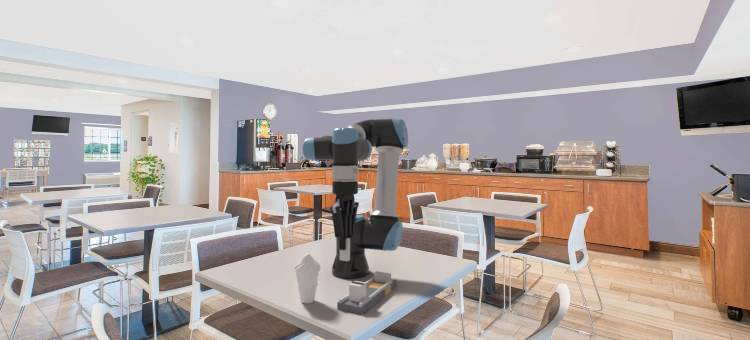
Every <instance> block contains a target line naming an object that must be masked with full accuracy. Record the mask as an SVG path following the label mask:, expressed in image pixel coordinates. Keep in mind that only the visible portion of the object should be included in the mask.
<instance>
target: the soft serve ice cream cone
mask: <svg viewBox="0 0 750 340" xmlns="http://www.w3.org/2000/svg"><path fill="white" fill-rule="evenodd" d="M294 270H295V271H294V272H295V274H296V275H295V276H296V283H297V284H296V286H297V289H298V292H299V293H298V295H299V299H300V302H301V304H311V303H314V302H315V299H316V292H317V289H318V288H317V287H318V285H319V284H318V280H319V279H318V278H319V275H320V274H319V272H320V271H321V264H320V262H318V260H316V259H315V258H314V257H313V256H312V255H311V254H310V253H307V252H306V253H305V254H304V255H303V257H301V258H300V259H299V260H298V262H296V263H295V266H294Z"/></svg>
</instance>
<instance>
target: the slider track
mask: <svg viewBox="0 0 750 340" xmlns="http://www.w3.org/2000/svg"><path fill="white" fill-rule="evenodd" d="M365 283H366V299H364V300H363V301H362V302H355V301H350V300H349V292H348V293H346V294H345V295H344V296H342V297H341V298H339V299H338V302H337V306H336V307H337V308H336V309H337V310H342V311H345V312H350V313H354V314H360V315H364V314H365V313H366V312H368V311H369V310H370V309H371V308H373V307H374V306H375V305H376V304H377V303H379V302H380V301H381V300H382V299H384V297H386V296H387V295H388V294H390V292H392V291H393V290H394V289H395V288H396V287H398V281H397V280H396V279H395V280H394V279H392V273H390V272H389V273H388V272H382V271H374V272H373V276H372V277H371V278H369V279H368V280H367V281H365Z"/></svg>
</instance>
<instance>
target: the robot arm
mask: <svg viewBox="0 0 750 340" xmlns="http://www.w3.org/2000/svg"><path fill="white" fill-rule="evenodd" d="M408 134H409V133H408V129H407V125H406V121H405V120H404V119H402V118H383V119H381V118H380V119H373V118H372V119H366V120H365V119H364V120H361V121H358V122H356V123H352V124H349V125H348V126H347V127H336V128H334V129H333V131H332V133H330V134H327V135H324V136H320V137H316V136H315V137H314V136H313V137H307V138H306V139H305V140H304V141H303V142H302V143H303V144H302V154H303V156H304V158H305V159H306V160H308V161H316V162H317V161H332V177H331V178H332V180H334V181H333V182H332V190H331V191H332V194H334V195H335V199H334V203H335V204H333V205H331V206H330V207H329V209H330V212H331V215H332V223H333V225H332V226H333V231H334V237H335V238H336V239H335V241H336V242H335V246H336V248H335V250H336V252H335V253H336V254H335V257H334V261H333V264H332V266H331V274H332V275H333V276H334V277H337V278H341V279H359V278H363V277H366V276H367V275H369V273H370V266H369V264H368V259H367V257H366V253H365V252H366V251H365V250H373V251H374V250H376V251H383V252H386V251H387V252H388V251H389V252H390V251H391V252H393V251H396V250H397V249H398V247H399V246H400V243H401V241H402V237H403V231H404V230H403V223H402V221H400V218H399V217H400V216H399V215H398V214H397V213H396V209H397V208H396V207H397V206H396V205H397V194H398V193H397V191H398V177H399V164H400V163H399V162H400V161H399V160H400V155H401V154H402V153H403V152H404V148H406V147H408V146H409V145H408V144H409V135H408ZM373 148H374V149H375V152H376V153H377V154H378V157H377V170H376V183H375V194H374V208H373V211H372V213H370V214H369V219H366V217H365V215H361V214H358V210H359V209H358V208H359V206H360V205H359V201H355V199H356V198H355V195H357V194H359V182H358V181H357V180H358V179H359V172H360V171H359V162H360V161H361V162H363V161H365V160H368V159H369V158H370V157H371V155H372V153H373V152H372V151H373Z"/></svg>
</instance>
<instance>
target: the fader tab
mask: <svg viewBox="0 0 750 340" xmlns="http://www.w3.org/2000/svg"><path fill="white" fill-rule="evenodd" d="M365 282H366V281H365ZM365 282H364V281H358V280H354V281H353V280H352V281H351V283H349V285H348V293H349V300H350V301H355V302H362V301H363V300H364V299H366V283H365Z"/></svg>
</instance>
